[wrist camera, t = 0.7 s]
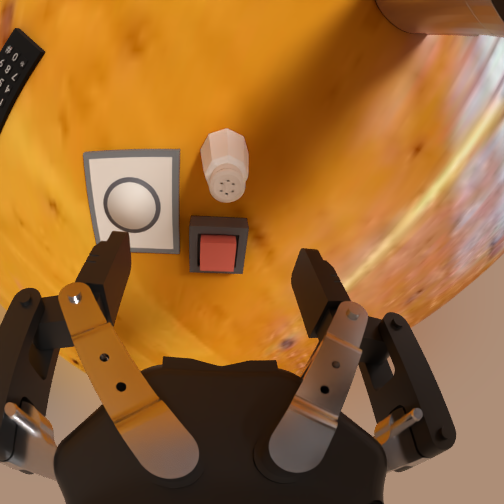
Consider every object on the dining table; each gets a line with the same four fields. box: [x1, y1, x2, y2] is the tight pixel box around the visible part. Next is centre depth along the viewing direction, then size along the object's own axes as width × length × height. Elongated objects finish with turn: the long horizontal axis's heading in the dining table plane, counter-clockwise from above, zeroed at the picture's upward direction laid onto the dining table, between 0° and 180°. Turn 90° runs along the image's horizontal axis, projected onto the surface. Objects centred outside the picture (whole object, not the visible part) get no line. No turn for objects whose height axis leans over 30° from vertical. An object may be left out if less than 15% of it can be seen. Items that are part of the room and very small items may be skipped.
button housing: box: [189, 216, 249, 274], centre depth 35 cm, size 7×7×2 cm
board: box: [83, 149, 180, 254], centre depth 31 cm, size 12×14×1 cm
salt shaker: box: [200, 128, 249, 203], centre depth 25 cm, size 5×5×11 cm
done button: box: [200, 234, 236, 272], centre depth 34 cm, size 4×4×2 cm
